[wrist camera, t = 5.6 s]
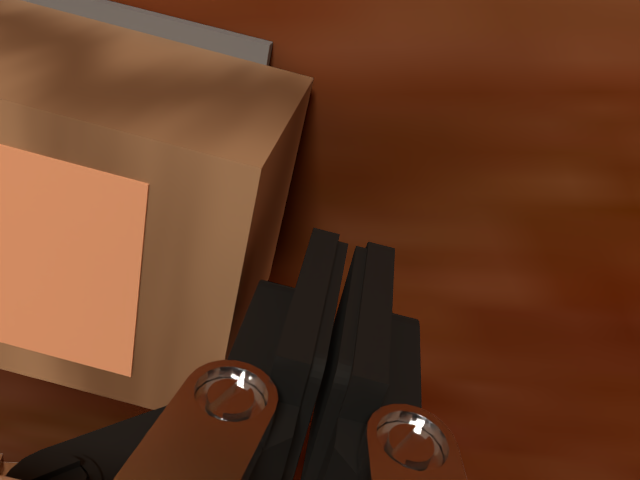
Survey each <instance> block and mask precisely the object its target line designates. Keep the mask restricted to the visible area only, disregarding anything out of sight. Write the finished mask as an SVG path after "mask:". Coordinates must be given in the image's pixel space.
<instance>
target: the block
mask: <svg viewBox="0 0 640 480" xmlns="http://www.w3.org/2000/svg"><path fill="white" fill-rule="evenodd" d="M313 79H314V78H312V77H308V76H304V75H301V74H297V73H293V72H289V71H286V70H282V69H278V68H274V67H271V66H267V65H263V64H259V63H256V62H252V61H248V60H244V59H240V58H237V57H233V56H229V55H225V54H222V53H218V52H214V51H210V50H207V49H203V48H199V47H195V46H191V45H188V44H184V43H180V42H176V41H173V40H169V39H165V38H161V37H158V36H154V35H150V34H146V33H143V32H139V31H135V30H131V29H127V28H124V27H120V26H116V25H112V24H109V23H105V22H101V21H97V20H94V19H90V18H86V17H82V16H79V15H75V14H71V13H67V12H63V11H60V10H56V9H52V8H48V7H45V6H41V5H37V4H33V3H30V2H26V1H22V0H0V369H3V370H7V371H11V372H14V373H18V374H22V375H26V376H29V377H33V378H37V379H41V380H44V381H48V382H52V383H55V384H59V385H63V386H67V387H70V388H74V389H78V390H82V391H85V392H89V393H93V394H97V395H100V396H104V397H108V398H111V399H115V400H119V401H123V402H126V403H130V404H134V405H138V406H141V407H145V408H149V409H153V410H155V409H158V408H161V407H164V406H166V405H168V404H169V402H170V401H171V400H172V398H173V397H174V396H175V394H176V393H177V391H178V390H179V389H180V387H181V386H182V385H183V383H184V382H185V380H186V379H187V378H188V376H189V375H190V374H191V373H193V372H194V371H195V370H196V369H197V368H198V367H200V366H203V365H205V364H207V363H209V362H214V361H219V360H227V359H228V356H229V354H230V351H231V349H232V347H233V344H234V342H235V339H236V337H237V334H238V332H239V329H240V327H241V325H242V322H243V320H244V317H245V315H246V312H247V310H248V307H249V305H250V302H251V300H252V298H253V295H254V293H255V290H256V288H257V285H258V283H259V281H260V280H265V281H268V279H269V276H270V272H271V268H272V263H273V259H274V254H275V250H276V245H277V241H278V236H279V232H280V227H281V223H282V218H283V214H284V209H285V205H286V200H287V196H288V192H289V187H290V183H291V178H292V174H293V169H294V165H295V160H296V156H297V151H298V147H299V142H300V138H301V133H302V129H303V124H304V120H305V115H306V111H307V106H308V102H309V97H310V93H311V88H312V84H313Z"/></svg>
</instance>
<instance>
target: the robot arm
mask: <svg viewBox="0 0 640 480" xmlns="http://www.w3.org/2000/svg"><path fill="white" fill-rule="evenodd" d="M338 240H339V234H336V233H332V232H328V231H324V230H320V229H316V228H314V229H313V232H312V235H311V238H310V242H309V245H308V248H307V251H306V255H305V258H304V261H303V265H302V268H301V271H300V274H299V278H298V281H297V284H296V288H292V287H288V286H284V285H281V284H277V283H273V282H269V281H265V280H260V281H259V283H258V285H257V288H256V290H255V293H254V295H253V298H252V300H251V302H250V305H249V307H248V310H247V312H246V315H245V317H244V320H243V322H242V325H241V327H240V329H239V332H238V334H237V337H236V339H235V342H234V344H233V347H232V349H231V351H230V354H229V356H228V359H227V360H219V361H214V362H209V363H207V364H205V365H203V366H200V367H198V368H197V369H196V370H195V371H194V372H193V373H191V374H190V375H189V376H188V378H187V379H186V380H185V382H184V383H183V385H182V386H181V387H180V389H179V390H178V391H177V393H176V394H175V396H174V397H173V398H172V400H171V401H170V402H169V404H168V405H166V406H164V407H161V408H158V409H155V410H152V411H150V412H147V413H144V414H141V415H138V416H135V417H133V418H130V419H127V420H124V421H121V422H118V423H116V424H113V425H110V426H107V427H104V428H102V429H99V430H96V431H93V432H90V433H87V434H85V435H82V436H79V437H76V438H73V439H70V440H68V441H65V442H62V443H59V444H56V445H54V446H51V447H48V448H45V449H42V450H40V451H38V452H36V453H34V454H31V455H29V456H27V457H25V458H24V459H22V460H21V461H20V462H19V463H16V462H4V460H3V454H0V480H293V477H294V474H295V470H296V467H297V464H298V460H299V457H300V453H301V450H302V446H303V443H304V440H305V436H306V433H307V429H308V426H309V422H310V419H311V415H312V412H313V409H314V413H313V419H312V424H311V429H310V434H309V439H308V445H307V450H306V455H305V460H304V466H303V471H302V476H301V480H467V478H466V474H465V470H464V467H463V463H462V459H461V455H460V452H459V448H458V445H457V442H456V440H455V438H454V436H453V434H452V432H451V431H450V430H449V429H448V427H447V426H446V425H445V424H444V423H443V422H442V421H441V420H439V419H438V418H437V417H436V416H434V415H433V414H431V413H429V412H427V411H425V410H423V409H421V366H420V326H419V321H418V320H417V319H413V318H409V317H406V316H402V315H398V314H394V313H392V302H393V279H394V257H395V249H394V248H391V247H387V246H383V245H379V244H375V243H371V242H368V243H367V246H366V248H362V247H358V246H356V248H355V251H354V255H353V258H352V262H351V265H350V269H349V272H348V276H347V279H346V283H345V286H344V290H343V293H342V297H341V300H340V304H339V307H338V311H337V314H336V318H335V312H336V307H337V302H338V296H339V291H340V285H341V280H342V275H343V269H344V264H345V258H346V253H347V248H348V244H347V243H343V242H339V241H338ZM334 318H335V321H334ZM333 323H334V325H333ZM315 402H316V403H315ZM314 405H315V408H314Z"/></svg>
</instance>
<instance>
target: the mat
mask: <svg viewBox="0 0 640 480" xmlns="http://www.w3.org/2000/svg"><path fill="white" fill-rule="evenodd" d="M22 1H26V2H30V3H33V4H37V5H41V6H45V7H48V8H52V9H56V10H60V11H63V12H67V13H71V14H75V15H79V16H82V17H86V18H90V19H94V20H97V21H101V22H105V23H109V24H112V25H116V26H120V27H124V28H127V29H131V30H135V31H139V32H143V33H146V34H150V35H154V36H158V37H161V38H165V39H169V40H173V41H176V42H180V43H184V44H188V45H191V46H195V47H199V48H203V49H207V50H210V51H214V52H218V53H222V54H225V55H229V56H233V57H237V58H240V59H244V60H248V61H252V62H256V63H259V64H263V65H267V66H269V63H270V57H271V51H272V45H273V42H271V41H267V40H263V39H259V38H255V37H251V36H247V35H243V34H239V33H235V32H231V31H227V30H223V29H219V28H215V27H211V26H207V25H204V24H200V23H196V22H192V21H188V20H184V19H180V18H176V17H172V16H168V15H164V14H160V13H156V12H152V11H148V10H144V9H140V8H136V7H132V6H128V5H124V4H120V3H116V2H112V1H108V0H22Z"/></svg>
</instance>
